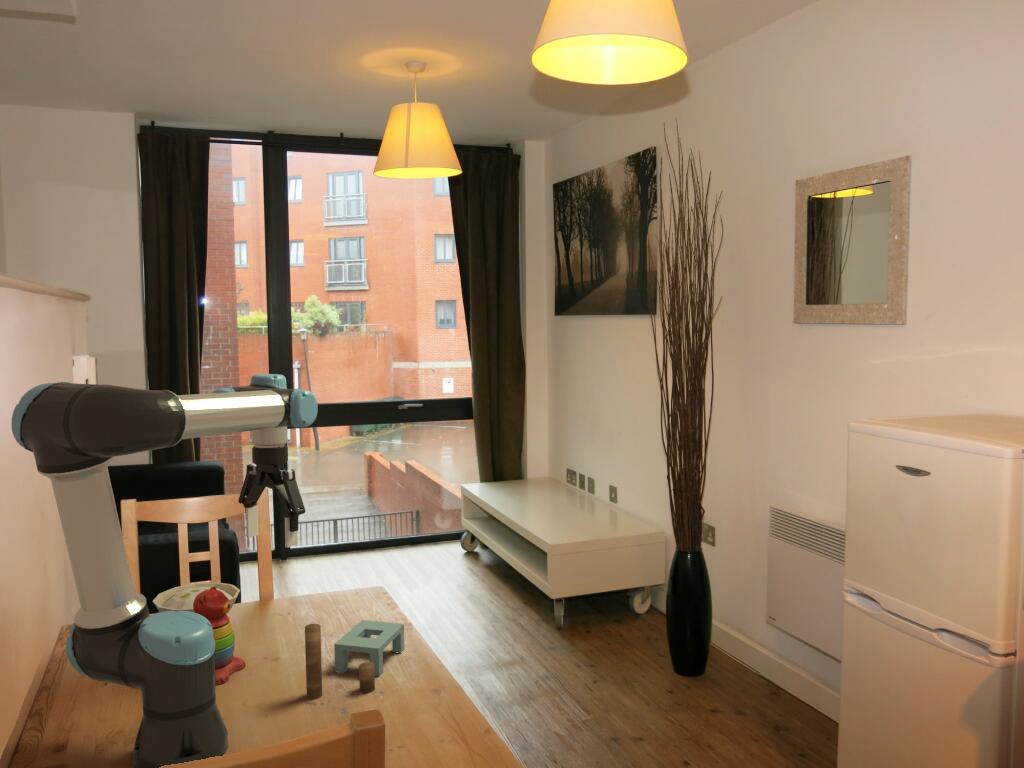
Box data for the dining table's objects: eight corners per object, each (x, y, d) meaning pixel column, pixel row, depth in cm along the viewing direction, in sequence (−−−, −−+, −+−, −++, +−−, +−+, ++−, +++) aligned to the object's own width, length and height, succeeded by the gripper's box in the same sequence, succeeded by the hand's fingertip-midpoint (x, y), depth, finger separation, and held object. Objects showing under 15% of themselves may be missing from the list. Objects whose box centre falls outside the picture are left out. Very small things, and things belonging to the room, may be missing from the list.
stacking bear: (222, 686, 170) (219, 600, 168) (176, 682, 172) (173, 597, 170) (249, 664, 180) (246, 583, 179) (206, 660, 182) (203, 580, 181)
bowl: (154, 624, 203) (152, 583, 202) (237, 612, 211) (236, 573, 210) (154, 654, 186) (152, 610, 185) (245, 640, 193) (243, 598, 192)
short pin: (371, 693, 166) (370, 669, 166) (357, 691, 167) (356, 667, 166) (377, 686, 169) (376, 663, 169) (363, 685, 170) (362, 661, 169)
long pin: (317, 699, 164) (316, 630, 162) (303, 698, 164) (302, 628, 163) (324, 692, 166) (323, 624, 165) (311, 691, 167) (309, 623, 166)
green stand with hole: (379, 676, 174) (378, 648, 173) (335, 671, 176) (334, 643, 176) (404, 650, 187) (403, 623, 187) (362, 645, 190) (362, 619, 189)
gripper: (321, 448, 178) (322, 546, 180) (249, 438, 193) (251, 529, 195) (292, 452, 172) (294, 554, 174) (221, 441, 187) (223, 535, 189)
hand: (271, 541), depth 184 cm, fingers open, 13 cm apart
